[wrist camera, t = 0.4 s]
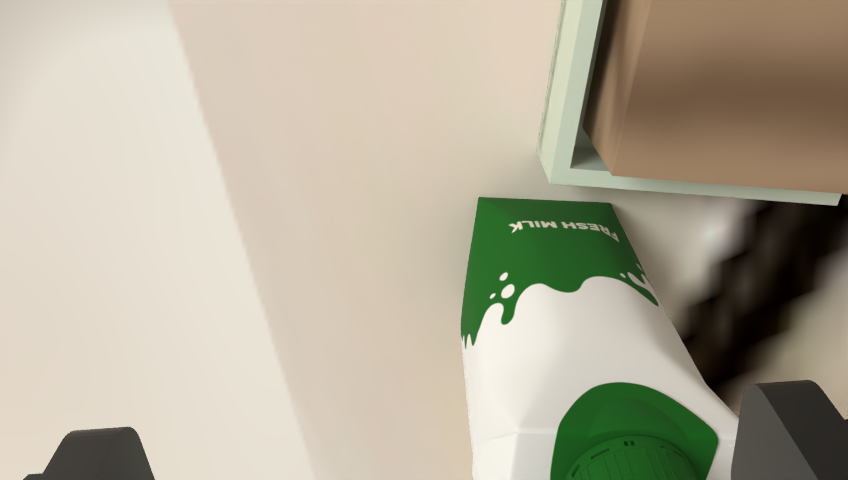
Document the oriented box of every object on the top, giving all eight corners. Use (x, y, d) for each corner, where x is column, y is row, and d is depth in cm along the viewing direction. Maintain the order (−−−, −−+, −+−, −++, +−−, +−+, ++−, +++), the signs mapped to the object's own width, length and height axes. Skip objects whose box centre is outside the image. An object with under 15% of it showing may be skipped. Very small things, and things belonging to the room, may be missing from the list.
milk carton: (630, 187, 38) (818, 478, 20) (601, 330, 42) (735, 675, 25) (461, 179, 38) (503, 468, 20) (449, 325, 42) (475, 670, 24)
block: (617, -50, 32) (658, -30, 26) (841, -28, 32) (925, -5, 27) (582, 127, 35) (611, 175, 30) (783, 143, 36) (847, 194, 31)
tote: (579, -101, 32) (600, -94, 28) (883, -71, 32) (940, -61, 29) (536, 151, 37) (549, 183, 33) (797, 172, 38) (837, 205, 34)
